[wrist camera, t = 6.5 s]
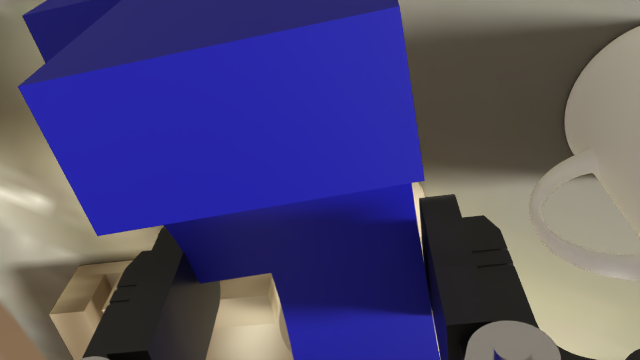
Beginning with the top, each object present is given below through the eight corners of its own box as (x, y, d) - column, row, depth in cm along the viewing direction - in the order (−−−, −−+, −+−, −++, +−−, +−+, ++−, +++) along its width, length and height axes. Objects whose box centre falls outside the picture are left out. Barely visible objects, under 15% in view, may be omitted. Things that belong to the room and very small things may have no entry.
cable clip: (103, -36, 10) (-150, 122, 5) (363, -97, 9) (398, 6, 4) (279, 404, 16) (253, 678, 11) (442, 385, 15) (494, 664, 10)
